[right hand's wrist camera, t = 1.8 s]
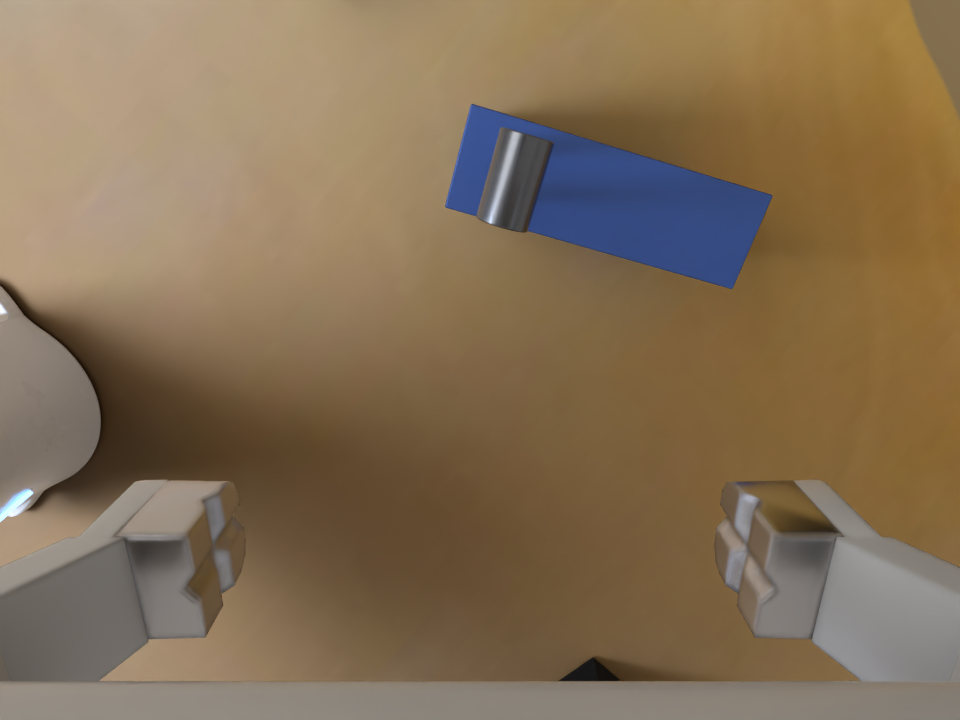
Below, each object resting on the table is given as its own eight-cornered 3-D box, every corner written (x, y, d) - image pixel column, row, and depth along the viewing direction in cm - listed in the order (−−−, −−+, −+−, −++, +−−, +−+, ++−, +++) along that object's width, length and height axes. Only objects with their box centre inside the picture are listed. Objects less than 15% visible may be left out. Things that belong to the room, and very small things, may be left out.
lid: (445, 204, 30) (433, 231, 21) (471, 104, 28) (469, 89, 20) (723, 284, 31) (818, 339, 23) (762, 193, 30) (880, 215, 21)
